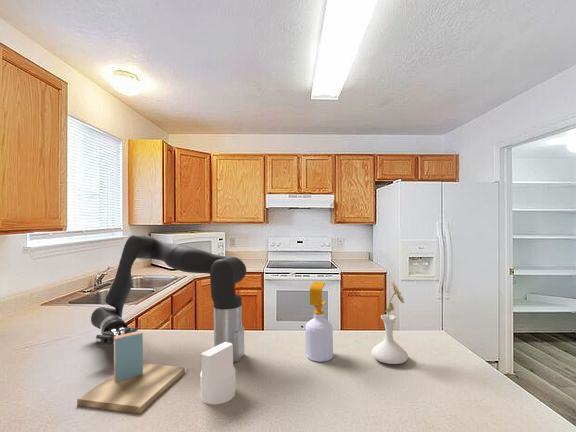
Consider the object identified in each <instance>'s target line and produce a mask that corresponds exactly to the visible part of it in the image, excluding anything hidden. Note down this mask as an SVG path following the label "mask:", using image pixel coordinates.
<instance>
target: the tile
mask: <svg viewBox="0 0 576 432" xmlns="http://www.w3.org/2000/svg"><path fill="white" fill-rule="evenodd" d="M143 334H144V333H143V331H142V330H138V331H137V332H132V333H127V334H123V335H118V336H114V343H113V375H114V380H115V382H118V381H122V380H125V379H128V378H132V377H135V376H138V375H142V374H143V363H144V361H143V359H144V357H143V355H144V354H143V351H144V350H143V349H144V347H143V341H144V339H143V337H144V336H143Z"/></svg>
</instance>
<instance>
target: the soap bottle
mask: <svg viewBox="0 0 576 432" xmlns="http://www.w3.org/2000/svg"><path fill="white" fill-rule="evenodd" d="M325 285H326V282H324V281H313V282H312V284H311V285H310V287H309V305H311V306H314V308H316V309H315V310H313V318H312V319H310V320H308V322H307V323H306V325H305V356H306V357H307V359H308V360H310V361H313V362H318V363H319V362H321V363H324V362H327V361H328V362H329V361H330V360H332V359H333V357H334V339H333V338H334V334H333V332H334V329H333V325H332V323H331V322H330V321H329V320H328V319H326V318H325V316H324V315H325V314H324V313H325V312H324V310H322V308H323V306H325V305H326V303H327V302H326V301H323V288H324V287H325Z"/></svg>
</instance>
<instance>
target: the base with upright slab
mask: <svg viewBox="0 0 576 432" xmlns="http://www.w3.org/2000/svg"><path fill="white" fill-rule="evenodd" d="M199 374H200V376H199V377H200V400H201V402H202V403H205V404H207V405H220V404H224V403H227V402H229V401H230V400H232V399H233V398H234V397H235V395H236V393H237V392H236V367H235V366H234V362H233V344H232V343H228V342H224V343H222V344H220V345H218V346H216V347H211V348H210V349H208V350H206V351H203V352H201V371H200V373H199Z"/></svg>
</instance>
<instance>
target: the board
mask: <svg viewBox="0 0 576 432" xmlns="http://www.w3.org/2000/svg"><path fill="white" fill-rule="evenodd" d="M185 373H186V367H185V366H177V365H164V364H154V363H153V364H152V363H144V362H143V374H142V375H138V376H135V377H132V378H128V379H125V380H122V381H118V382H115V380H114V374H113V375H111V376H110V377H108V378H107V379H106V380H104V381H103V382H101V383H100V384H99V383H98V385H96V386H95V387H93V388H92V389H90V390H88V391H87V392H86V393H84V394H83V395H81V396H79V397H78V398H77V399H76V400H77V401H76V405H77V406H80V407H85V408H94V409H102V410H111V411H116V412H124V413H125V412H126V413H134V414H141V413H143V411H145V410H146V409H147V408H148V407H149V406H150V405H151V404H152V403H153V402H155V401H156V399H158V398H159V397H160V396H161V395H162V394H163V393H164V392H165V391H166V390H167V389H169V388H170V387H171V386H172V385H173V384H174V383H176V382H177V380H178V379H180V378H181V377H182V376H183V375H184V374H185Z"/></svg>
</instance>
